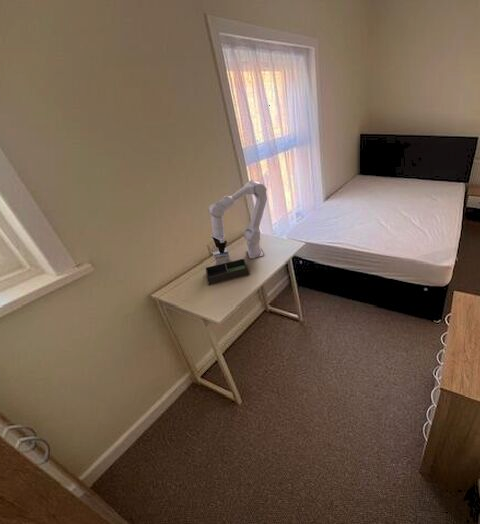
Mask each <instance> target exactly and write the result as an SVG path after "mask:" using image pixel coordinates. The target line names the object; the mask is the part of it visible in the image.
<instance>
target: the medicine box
mask: <svg viewBox="0 0 480 524" xmlns="http://www.w3.org/2000/svg"><path fill="white" fill-rule="evenodd" d="M212 256H213V258H214V261H215V265H219V264H223V263H228V262H232V261H231V257H230V255H229V251H228V248H225V250H224V253H220V252H219V250H216V251H212Z"/></svg>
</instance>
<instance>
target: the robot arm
mask: <svg viewBox="0 0 480 524" xmlns="http://www.w3.org/2000/svg"><path fill="white" fill-rule="evenodd" d="M267 190H268V189H267V187H266V186H265V184H263V183H261V182H258V181H256V180H253V179H252V180H249V181H248V182H246V183H245V184H244V185H243V186H242V187H241V188H239V189H238V190H237V191H235V193H233V194H231V195H224V196H223V198H221V199H220V200H219V201H215V203H212V204H210V205H209V207H208V209H207V211H208V213H209V214H210V221H211V223H210V224H211V230H212V233H211V234H210V237H211V238H212V239H213V242H214V246H215V248H216V249H217V250H218V251H219V252H220V253H224V250H225V249H226V246H227V244H228V240H225V237H226V234H225V229H224V227H225V226H224V218H223V216H224V214H225V212H226V211H228V210H229V209H231V208H232V207H233V206H235V204H236V202H237V201H238V200H240V199H242V198H244V197H245V196H247V195H253V196H254V197H255V203H254V207H253V210H252V215H251V219H250V222H249V225H247V226H246V228H245V230H244V231H243V233H242V234H243V238H244V239H246V245H247V255H248V258H249V259H251V260H252V259H255V258H259V257H263V256H264V253H263V251H262V249H261V245H260V244H261V243H260V241H261V230H260V226H261V222H262V219H263V215H264V211H265V208H266V204H267V201H268V195H267Z"/></svg>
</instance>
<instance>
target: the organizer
mask: <svg viewBox="0 0 480 524" xmlns="http://www.w3.org/2000/svg"><path fill="white" fill-rule="evenodd" d="M205 275H206V280H207V282H208V286H211V285H216V284H218V283H219V284H220V283H222V282H226V281H230V280H234V279H238V278H242V277H246V276H249V275H250V273H249V269H248V265H247V263H246V259H245V258H240V259H237V260H232V261H231V262H228V263H223V264H219V265H216V264H215V265H211V266H207V267H205Z"/></svg>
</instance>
